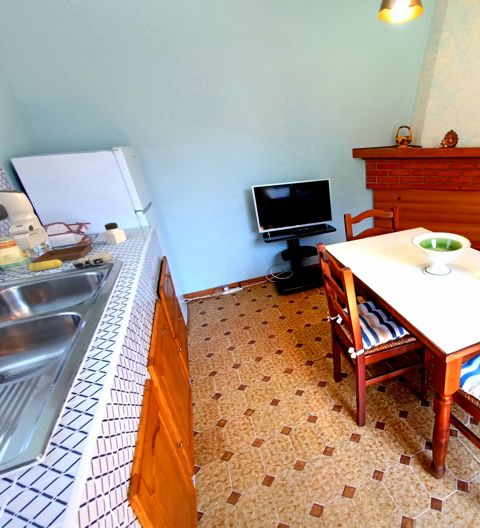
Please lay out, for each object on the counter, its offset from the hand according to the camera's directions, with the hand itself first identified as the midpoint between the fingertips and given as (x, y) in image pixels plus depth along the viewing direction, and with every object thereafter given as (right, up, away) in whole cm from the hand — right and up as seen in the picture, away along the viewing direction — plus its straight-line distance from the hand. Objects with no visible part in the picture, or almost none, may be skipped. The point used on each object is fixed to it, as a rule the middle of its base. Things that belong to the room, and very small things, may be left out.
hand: (40, 254), depth 141 cm
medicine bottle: (+4, +8, +41) cm, 42 cm away
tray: (-6, -1, +19) cm, 20 cm away
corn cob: (0, -7, +3) cm, 8 cm away
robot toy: (+21, -5, +5) cm, 22 cm away
